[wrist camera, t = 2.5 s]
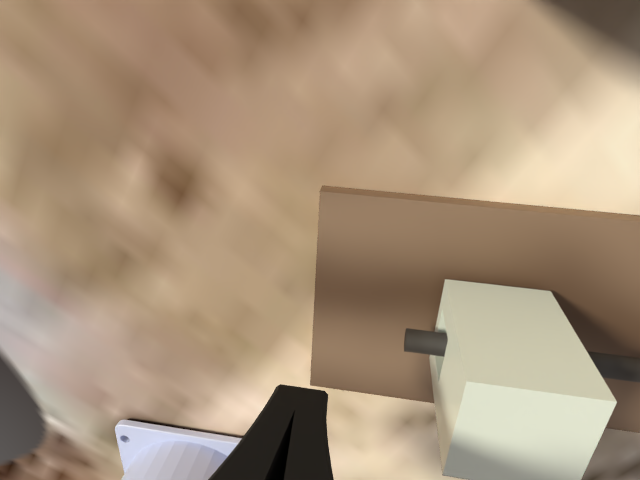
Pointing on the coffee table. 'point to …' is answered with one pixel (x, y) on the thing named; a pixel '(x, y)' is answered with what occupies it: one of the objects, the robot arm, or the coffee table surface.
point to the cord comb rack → (471, 266)
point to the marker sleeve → (514, 387)
